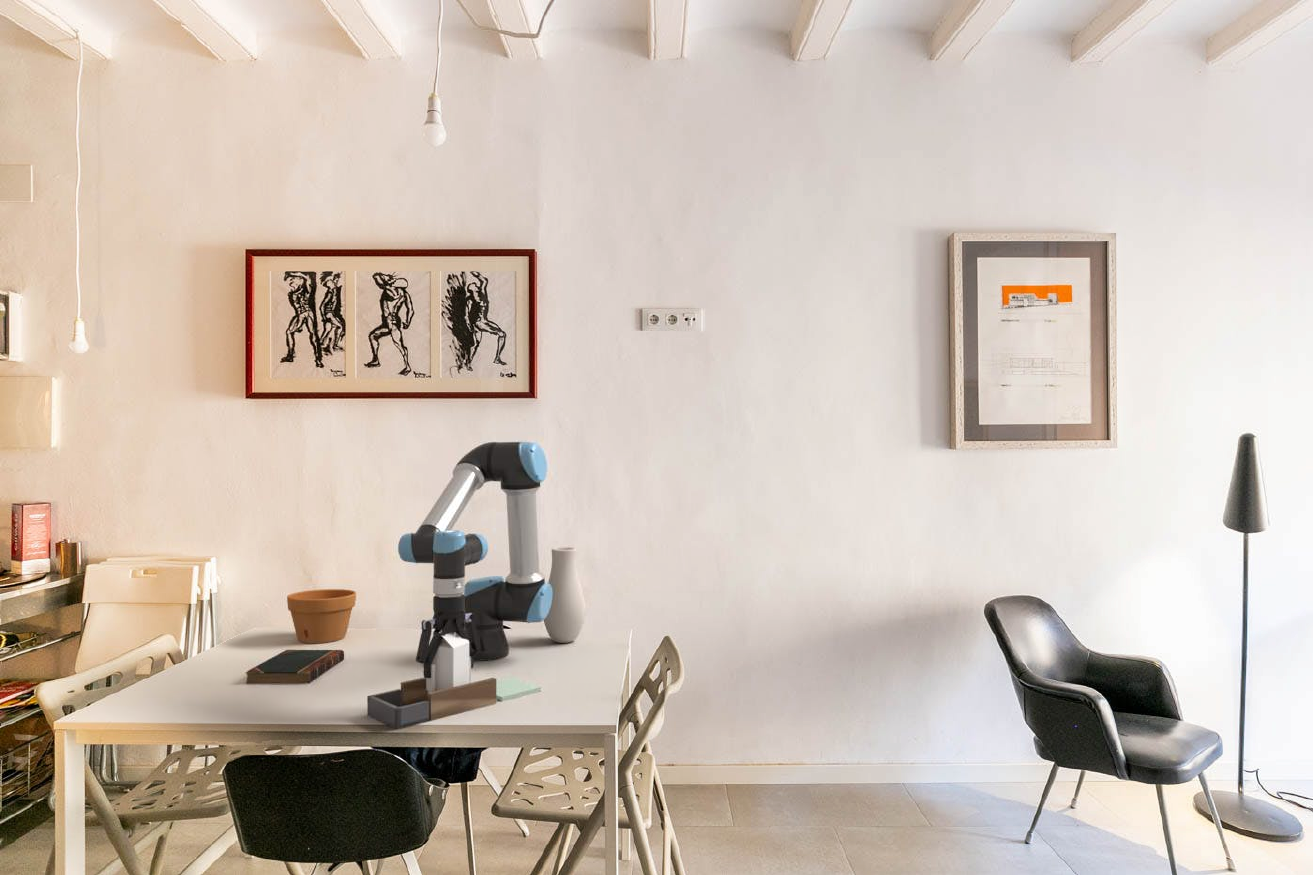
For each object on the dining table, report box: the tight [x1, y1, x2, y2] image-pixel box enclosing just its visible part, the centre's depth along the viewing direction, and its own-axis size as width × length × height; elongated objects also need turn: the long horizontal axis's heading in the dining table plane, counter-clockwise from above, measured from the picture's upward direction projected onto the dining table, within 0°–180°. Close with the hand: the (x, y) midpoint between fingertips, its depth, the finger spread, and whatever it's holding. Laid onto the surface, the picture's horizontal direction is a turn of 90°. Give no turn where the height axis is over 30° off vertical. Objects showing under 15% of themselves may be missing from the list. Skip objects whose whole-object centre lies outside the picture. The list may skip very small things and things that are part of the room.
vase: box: [543, 546, 586, 644], centre depth 270 cm, size 14×14×30 cm
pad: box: [496, 677, 542, 702], centre depth 215 cm, size 13×12×1 cm
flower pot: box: [286, 588, 357, 644], centre depth 274 cm, size 21×21×15 cm
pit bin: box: [366, 688, 430, 730], centre depth 194 cm, size 14×8×4 cm, turn 45°
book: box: [245, 649, 345, 685], centre depth 234 cm, size 17×4×25 cm
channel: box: [400, 676, 497, 721], centre depth 203 cm, size 14×18×6 cm
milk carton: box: [428, 630, 469, 693], centre depth 203 cm, size 7×7×19 cm
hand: (448, 686), depth 203 cm, fingers closed on milk carton, 9 cm apart
